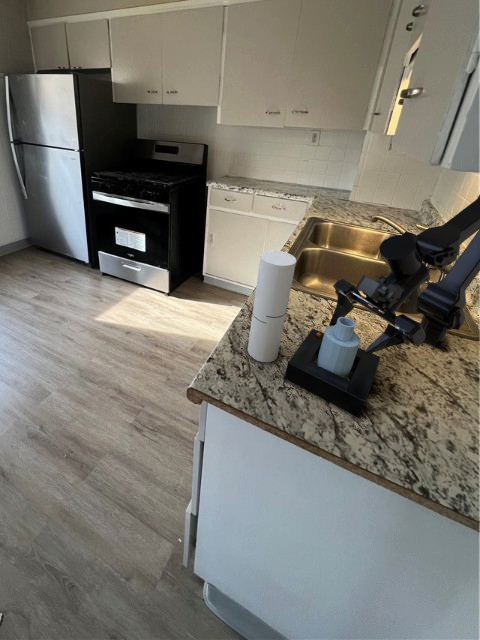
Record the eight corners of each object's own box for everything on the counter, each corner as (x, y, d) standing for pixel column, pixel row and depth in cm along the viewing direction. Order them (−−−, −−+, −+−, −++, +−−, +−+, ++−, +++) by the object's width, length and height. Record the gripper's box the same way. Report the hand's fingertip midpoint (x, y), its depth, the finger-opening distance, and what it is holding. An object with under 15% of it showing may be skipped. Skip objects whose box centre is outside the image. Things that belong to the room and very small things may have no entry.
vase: (320, 359, 73) (334, 308, 67) (350, 373, 69) (368, 320, 63) (310, 376, 68) (324, 322, 62) (342, 392, 65) (360, 337, 59)
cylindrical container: (278, 364, 71) (297, 267, 61) (247, 359, 73) (260, 263, 62) (277, 343, 78) (294, 252, 67) (248, 339, 79) (260, 248, 68)
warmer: (309, 342, 78) (313, 326, 76) (375, 372, 70) (381, 354, 68) (284, 378, 68) (288, 360, 66) (359, 418, 59) (366, 399, 57)
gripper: (349, 245, 68) (300, 298, 69) (439, 287, 53) (374, 354, 53) (365, 271, 74) (320, 319, 75) (449, 316, 59) (392, 375, 60)
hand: (347, 339), depth 65 cm, fingers open, 9 cm apart
